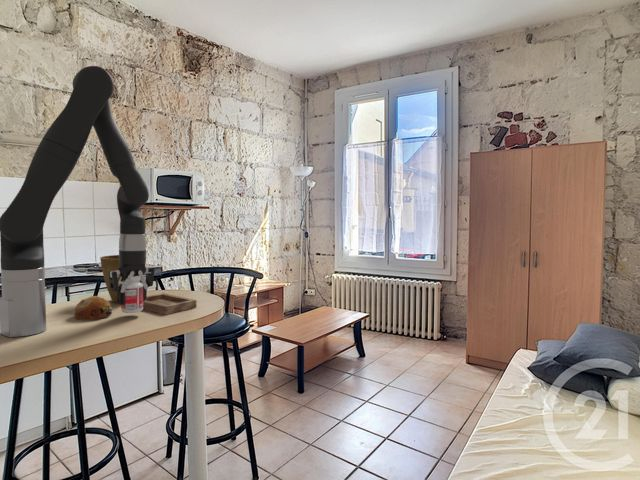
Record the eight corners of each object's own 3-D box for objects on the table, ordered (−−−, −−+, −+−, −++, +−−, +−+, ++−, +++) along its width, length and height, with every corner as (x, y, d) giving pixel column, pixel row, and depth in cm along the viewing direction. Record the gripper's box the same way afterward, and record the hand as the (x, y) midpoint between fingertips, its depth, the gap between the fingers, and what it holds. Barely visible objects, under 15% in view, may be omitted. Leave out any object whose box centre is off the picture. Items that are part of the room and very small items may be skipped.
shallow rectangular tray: (165, 314, 127) (165, 306, 127) (132, 306, 137) (132, 298, 136) (196, 307, 137) (196, 300, 137) (163, 299, 147) (163, 293, 146)
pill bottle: (136, 307, 128) (136, 273, 127) (147, 310, 125) (147, 275, 124) (117, 311, 123) (117, 275, 122) (127, 314, 120) (128, 277, 119)
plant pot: (130, 306, 136) (129, 259, 135) (91, 304, 138) (90, 258, 137) (155, 297, 151) (154, 255, 149) (119, 295, 153) (118, 253, 152)
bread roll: (103, 322, 130) (95, 299, 131) (122, 312, 125) (114, 288, 126) (72, 330, 121) (65, 305, 122) (92, 320, 117) (84, 294, 118)
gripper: (116, 250, 115) (116, 308, 116) (160, 248, 127) (160, 300, 128) (102, 248, 119) (102, 304, 120) (146, 246, 131) (146, 297, 132)
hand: (132, 302), depth 124 cm, fingers closed on pill bottle, 6 cm apart
